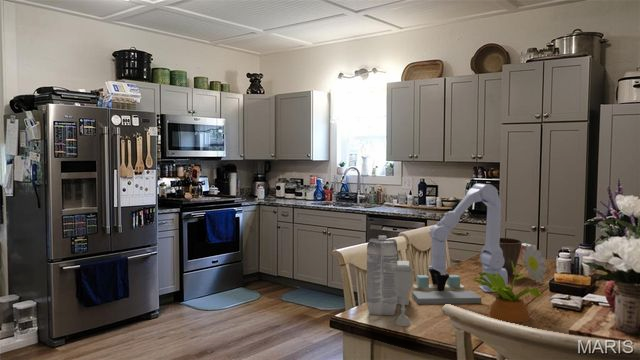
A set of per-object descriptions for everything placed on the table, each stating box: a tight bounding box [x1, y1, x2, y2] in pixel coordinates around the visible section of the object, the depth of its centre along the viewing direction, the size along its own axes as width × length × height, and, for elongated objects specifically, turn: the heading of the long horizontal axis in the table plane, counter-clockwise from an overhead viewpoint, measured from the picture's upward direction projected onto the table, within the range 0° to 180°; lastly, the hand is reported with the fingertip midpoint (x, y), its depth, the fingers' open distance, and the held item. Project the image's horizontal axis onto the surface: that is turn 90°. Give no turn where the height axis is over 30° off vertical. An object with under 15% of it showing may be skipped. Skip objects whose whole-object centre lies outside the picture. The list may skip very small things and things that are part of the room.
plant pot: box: [499, 237, 523, 277], centre depth 232 cm, size 15×15×16 cm
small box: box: [517, 242, 537, 268], centre depth 252 cm, size 8×6×10 cm
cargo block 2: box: [446, 274, 461, 287], centre depth 202 cm, size 4×4×4 cm
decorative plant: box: [473, 243, 548, 323], centre depth 172 cm, size 27×24×25 cm
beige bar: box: [411, 283, 466, 292], centre depth 202 cm, size 20×5×3 cm, turn 92°
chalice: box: [393, 267, 415, 327], centre depth 164 cm, size 7×7×18 cm
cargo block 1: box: [416, 274, 430, 287], centre depth 202 cm, size 4×4×4 cm
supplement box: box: [397, 260, 411, 306], centre depth 189 cm, size 9×9×15 cm
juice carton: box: [366, 235, 398, 317], centre depth 175 cm, size 9×10×27 cm
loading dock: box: [411, 290, 482, 305], centre depth 192 cm, size 24×10×2 cm, turn 92°
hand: (438, 288), depth 202 cm, fingers open, 7 cm apart
